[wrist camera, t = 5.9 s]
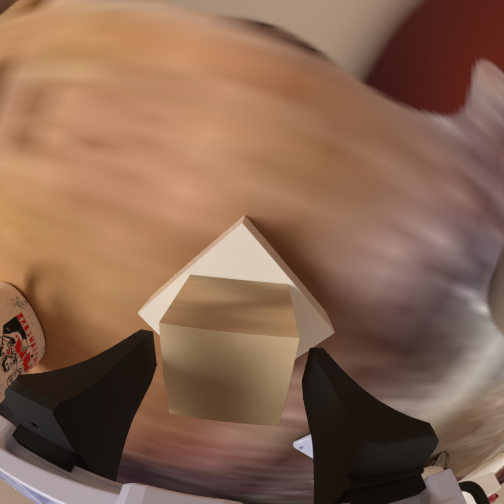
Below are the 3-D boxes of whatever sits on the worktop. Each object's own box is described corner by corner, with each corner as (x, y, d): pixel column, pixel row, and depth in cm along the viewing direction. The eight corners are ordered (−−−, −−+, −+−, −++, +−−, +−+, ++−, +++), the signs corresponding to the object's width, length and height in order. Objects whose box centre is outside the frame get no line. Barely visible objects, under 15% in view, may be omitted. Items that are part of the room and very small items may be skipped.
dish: (409, 517, 35) (418, 547, 24) (461, 472, 28) (478, 510, 17) (474, 488, 34) (485, 512, 23) (524, 436, 27) (541, 463, 17)
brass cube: (287, 284, 14) (299, 338, 9) (275, 361, 16) (278, 425, 11) (190, 274, 14) (158, 322, 9) (190, 352, 16) (168, 412, 11)
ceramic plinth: (324, 308, 18) (334, 332, 15) (233, 369, 19) (230, 397, 17) (245, 213, 16) (242, 223, 13) (154, 292, 18) (137, 313, 15)
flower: (477, 496, 34) (477, 513, 30) (501, 484, 31) (501, 501, 26) (472, 489, 41) (472, 505, 36) (494, 478, 38) (494, 494, 33)
